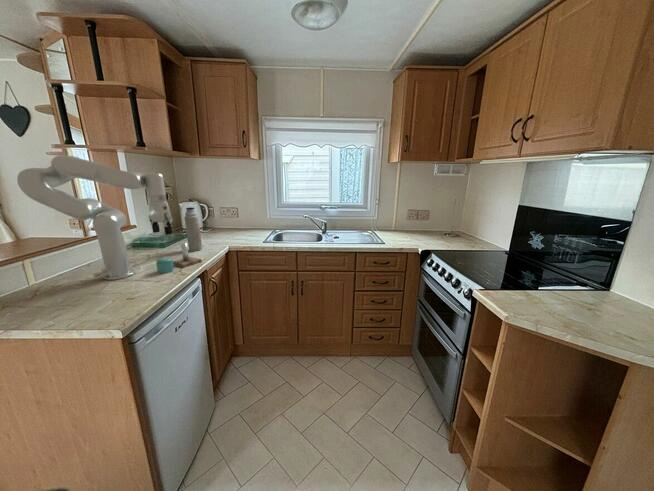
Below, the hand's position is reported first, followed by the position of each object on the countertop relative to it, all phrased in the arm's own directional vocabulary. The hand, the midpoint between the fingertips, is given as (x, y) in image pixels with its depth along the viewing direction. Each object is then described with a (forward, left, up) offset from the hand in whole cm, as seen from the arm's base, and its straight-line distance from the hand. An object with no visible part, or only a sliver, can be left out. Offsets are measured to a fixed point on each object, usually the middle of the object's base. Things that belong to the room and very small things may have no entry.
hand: (162, 233), depth 134 cm
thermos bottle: (+32, +22, -20) cm, 44 cm away
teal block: (-1, 0, -20) cm, 20 cm away
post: (+12, +2, -18) cm, 22 cm away
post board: (+12, +2, -20) cm, 23 cm away
